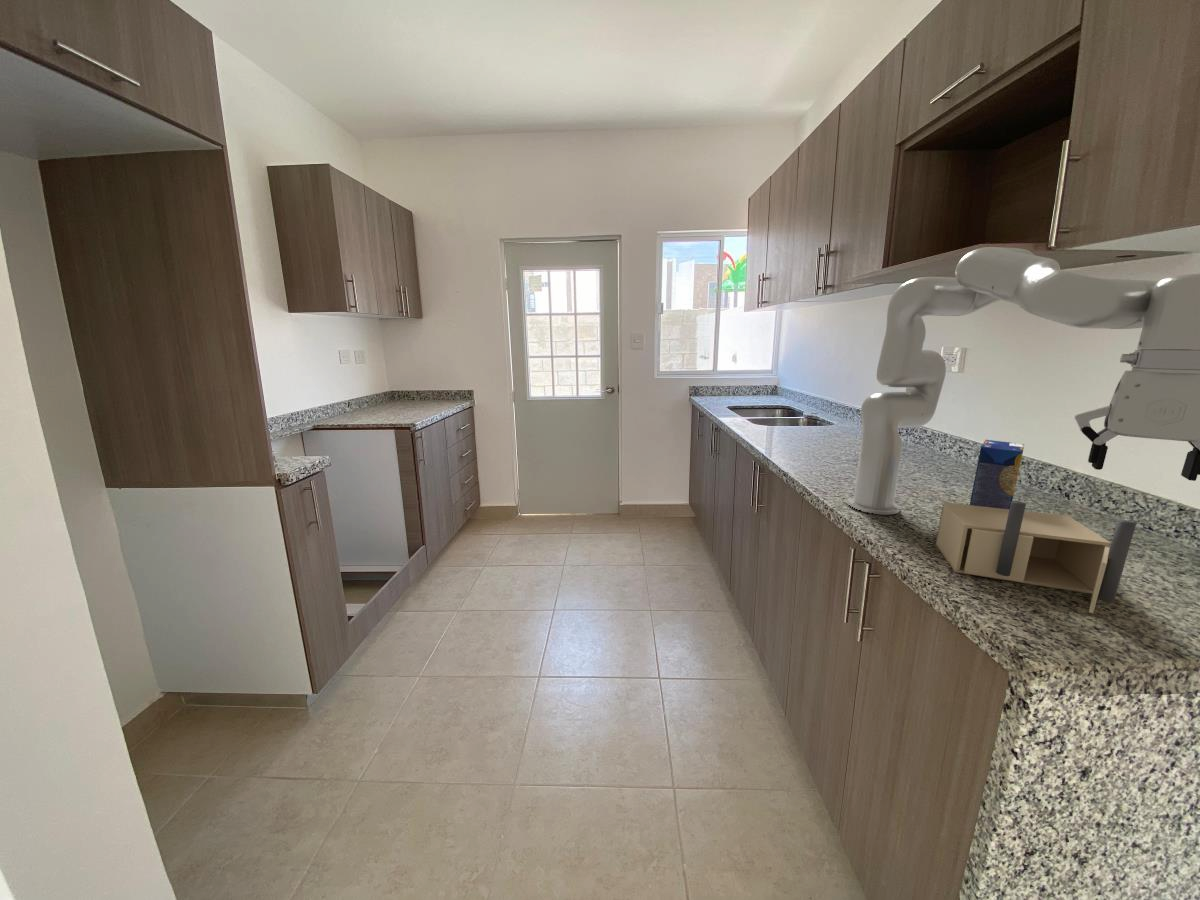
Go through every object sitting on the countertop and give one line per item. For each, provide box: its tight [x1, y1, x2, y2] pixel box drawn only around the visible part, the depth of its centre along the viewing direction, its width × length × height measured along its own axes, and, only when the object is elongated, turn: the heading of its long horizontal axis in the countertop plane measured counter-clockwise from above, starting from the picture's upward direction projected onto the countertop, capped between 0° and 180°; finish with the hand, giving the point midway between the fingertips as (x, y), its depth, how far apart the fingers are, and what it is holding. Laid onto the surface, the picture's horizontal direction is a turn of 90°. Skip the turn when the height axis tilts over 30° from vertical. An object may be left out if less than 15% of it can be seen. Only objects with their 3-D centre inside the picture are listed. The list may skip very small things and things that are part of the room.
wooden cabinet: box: [935, 501, 1111, 594], centre depth 92 cm, size 14×21×10 cm, turn 67°
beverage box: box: [969, 439, 1025, 509], centre depth 104 cm, size 7×11×22 cm, turn 137°
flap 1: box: [964, 500, 1034, 583], centre depth 85 cm, size 2×9×16 cm, turn 67°
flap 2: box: [1088, 519, 1137, 614], centre depth 76 cm, size 2×9×16 cm, turn 131°
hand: (1140, 473), depth 72 cm, fingers open, 9 cm apart
